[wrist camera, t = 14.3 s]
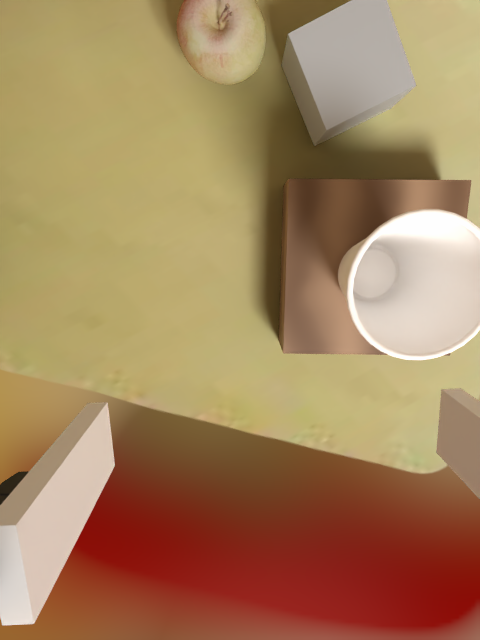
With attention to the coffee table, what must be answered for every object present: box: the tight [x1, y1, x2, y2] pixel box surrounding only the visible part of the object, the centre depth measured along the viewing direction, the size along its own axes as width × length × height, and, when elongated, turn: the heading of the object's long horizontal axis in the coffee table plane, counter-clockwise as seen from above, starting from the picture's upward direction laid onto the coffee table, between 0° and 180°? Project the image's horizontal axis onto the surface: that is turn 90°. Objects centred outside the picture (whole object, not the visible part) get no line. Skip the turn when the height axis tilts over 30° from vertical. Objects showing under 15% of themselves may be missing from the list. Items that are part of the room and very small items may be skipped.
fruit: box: [177, 0, 266, 85], centre depth 33 cm, size 8×7×8 cm
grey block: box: [281, 0, 416, 146], centre depth 35 cm, size 8×8×6 cm
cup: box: [338, 209, 480, 360], centre depth 31 cm, size 10×10×11 cm
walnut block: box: [279, 179, 471, 355], centre depth 39 cm, size 16×16×5 cm
